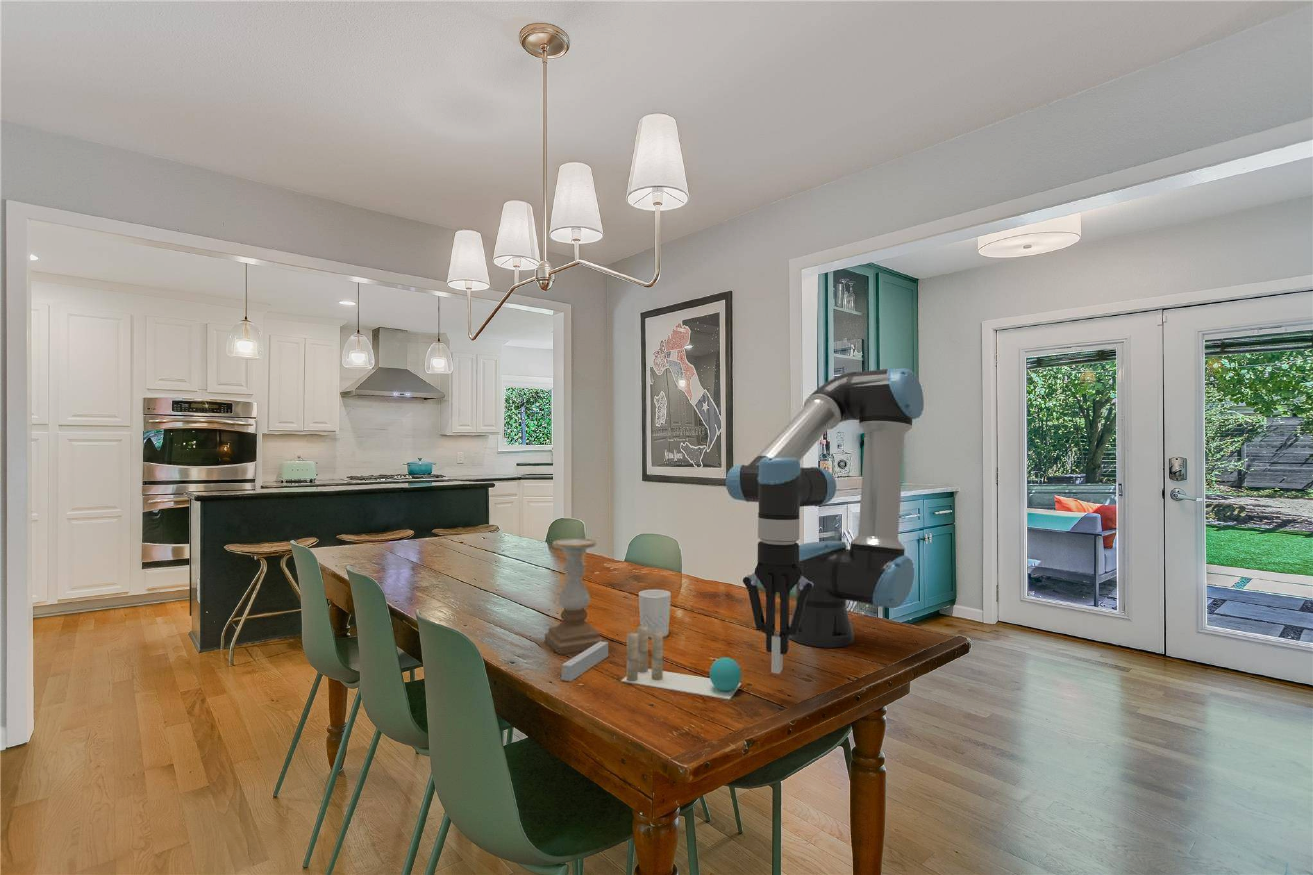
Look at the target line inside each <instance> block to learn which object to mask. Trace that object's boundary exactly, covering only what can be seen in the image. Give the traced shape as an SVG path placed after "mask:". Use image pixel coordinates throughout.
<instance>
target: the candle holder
mask: <svg viewBox="0 0 1313 875" xmlns="http://www.w3.org/2000/svg"><path fill="white" fill-rule="evenodd" d="M596 546H597V541H596V540H594V539H592V538H590V539H589V538H561V539H555V540H554V541H552V547H553V548H557V549H561V550H562V553H563V554H564V555H565V558H566V563H565V565H564V567H563V569H562V571H563V572H564V574H565V576H566V582H565V584H564V586H563V588H562V589H561V590H560V593H559V594H558V601H557V602H558V605H559V606H560V607H561V608H563V610H562V611H561V613H560V618H561V620H562V622H560V623H559V624H558V625H556V626H550V627H549V628H548V631H547V632H546V633H544V642H545V645H547V646H548V645H549V646H548V647H549V648H550V649H551V650H552V651H554V652H555V653H556V654H558V655H560V656H561V655H569V654H574V653H582V652H583V651H585V650H587V649H588V648H590V647H592V646H593V645H595V644H597V643H598V642H600V641H601V642H605V640H604V639H603V637H602V636H601V635H600V633H599V631H598V630H597V629H596V628H594V626H592V625H591V624H590V623H588V622H587V621H585V620H586V619H587V618H588V613H587V610H586V609H585V608H586V607H587V606H588V605H589V604H590V602H591V597H590V594H589V591H588V590H587V588H586V586H585V585H584V582H583V580H582V577H583V574H584V572H585V571H586V569H587V568H586V567H585V565H584V564H583V557H584V555H585V554H586V552H587V549H591V548H594V547H596Z"/></svg>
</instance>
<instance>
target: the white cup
mask: <svg viewBox="0 0 1313 875" xmlns="http://www.w3.org/2000/svg"><path fill="white" fill-rule="evenodd" d="M671 594H672V593H671V592H670V591H668V590H663V589H645V590H641V591H639V592H638V608H639V623H640V626H647V627H648V639H649V638H651V639H652V633H653V632H662V633H663V638H665V637H667V636H668V635H669V627H670V616H671V596H672V595H671Z"/></svg>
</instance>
